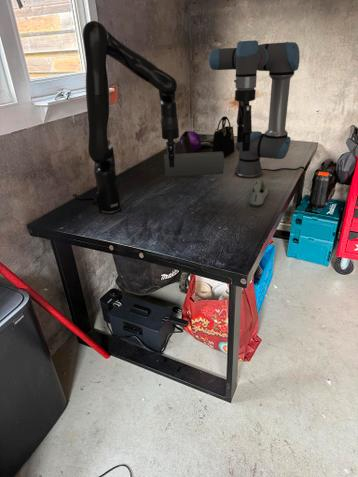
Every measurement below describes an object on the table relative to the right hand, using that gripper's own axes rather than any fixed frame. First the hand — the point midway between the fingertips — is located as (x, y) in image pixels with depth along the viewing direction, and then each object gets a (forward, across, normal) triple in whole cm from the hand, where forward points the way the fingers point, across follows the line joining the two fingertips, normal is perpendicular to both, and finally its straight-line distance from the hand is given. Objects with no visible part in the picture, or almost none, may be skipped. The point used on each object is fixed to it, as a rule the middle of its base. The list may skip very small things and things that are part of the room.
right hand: (242, 146), depth 133 cm
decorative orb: (+29, -99, -20) cm, 105 cm away
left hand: (+10, -14, -30) cm, 34 cm away
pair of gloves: (+29, -123, -4) cm, 126 cm away
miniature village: (+29, -108, +29) cm, 116 cm away
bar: (+15, -14, -20) cm, 28 cm away
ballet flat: (+29, -15, +11) cm, 35 cm away
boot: (+29, -76, -20) cm, 84 cm away
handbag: (+29, -91, +3) cm, 95 cm away
